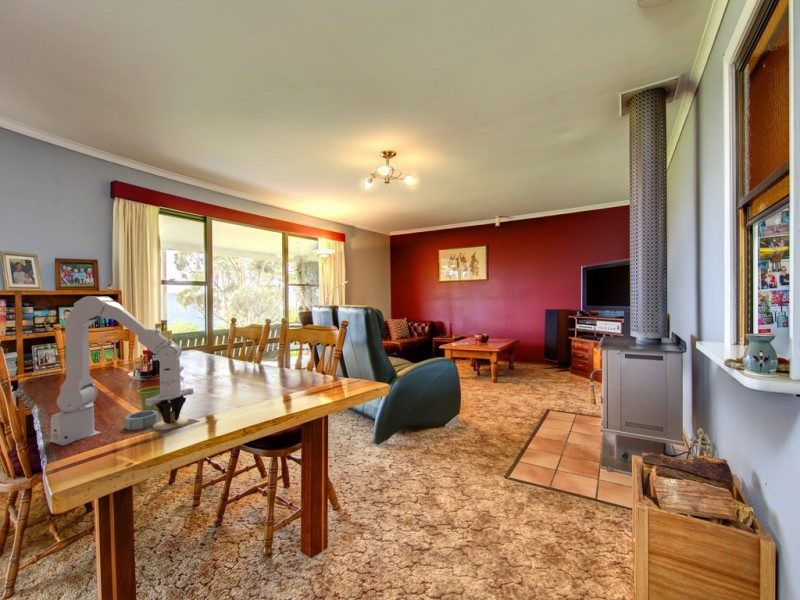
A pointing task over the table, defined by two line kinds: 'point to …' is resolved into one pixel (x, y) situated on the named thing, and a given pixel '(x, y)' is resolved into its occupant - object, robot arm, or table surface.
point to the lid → (171, 423)
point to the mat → (170, 429)
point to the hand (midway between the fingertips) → (171, 421)
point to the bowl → (141, 419)
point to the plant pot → (147, 394)
